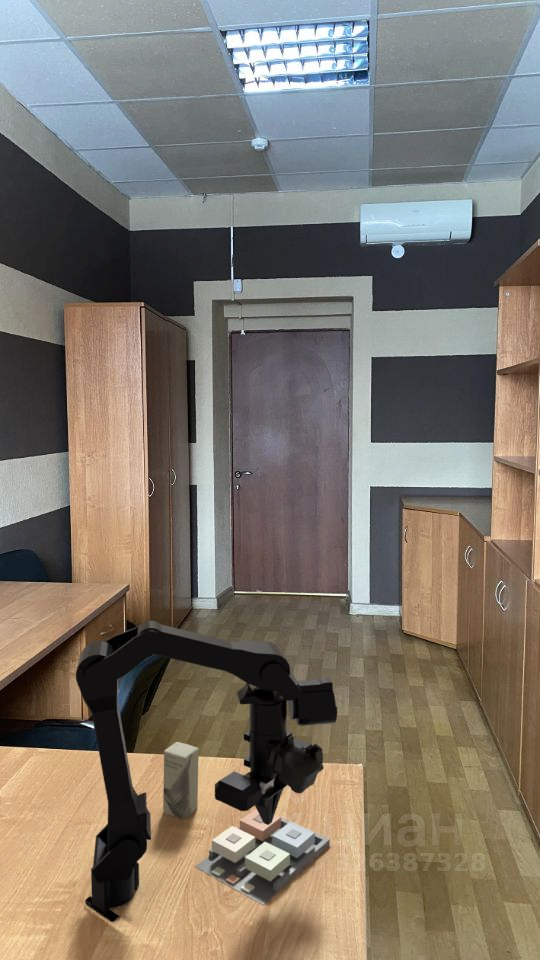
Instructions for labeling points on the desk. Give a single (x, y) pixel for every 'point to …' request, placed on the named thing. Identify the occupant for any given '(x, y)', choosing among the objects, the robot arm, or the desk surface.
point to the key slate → (293, 839)
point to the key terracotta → (259, 825)
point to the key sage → (267, 861)
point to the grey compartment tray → (252, 882)
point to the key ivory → (233, 844)
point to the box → (180, 780)
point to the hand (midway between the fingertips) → (267, 823)
